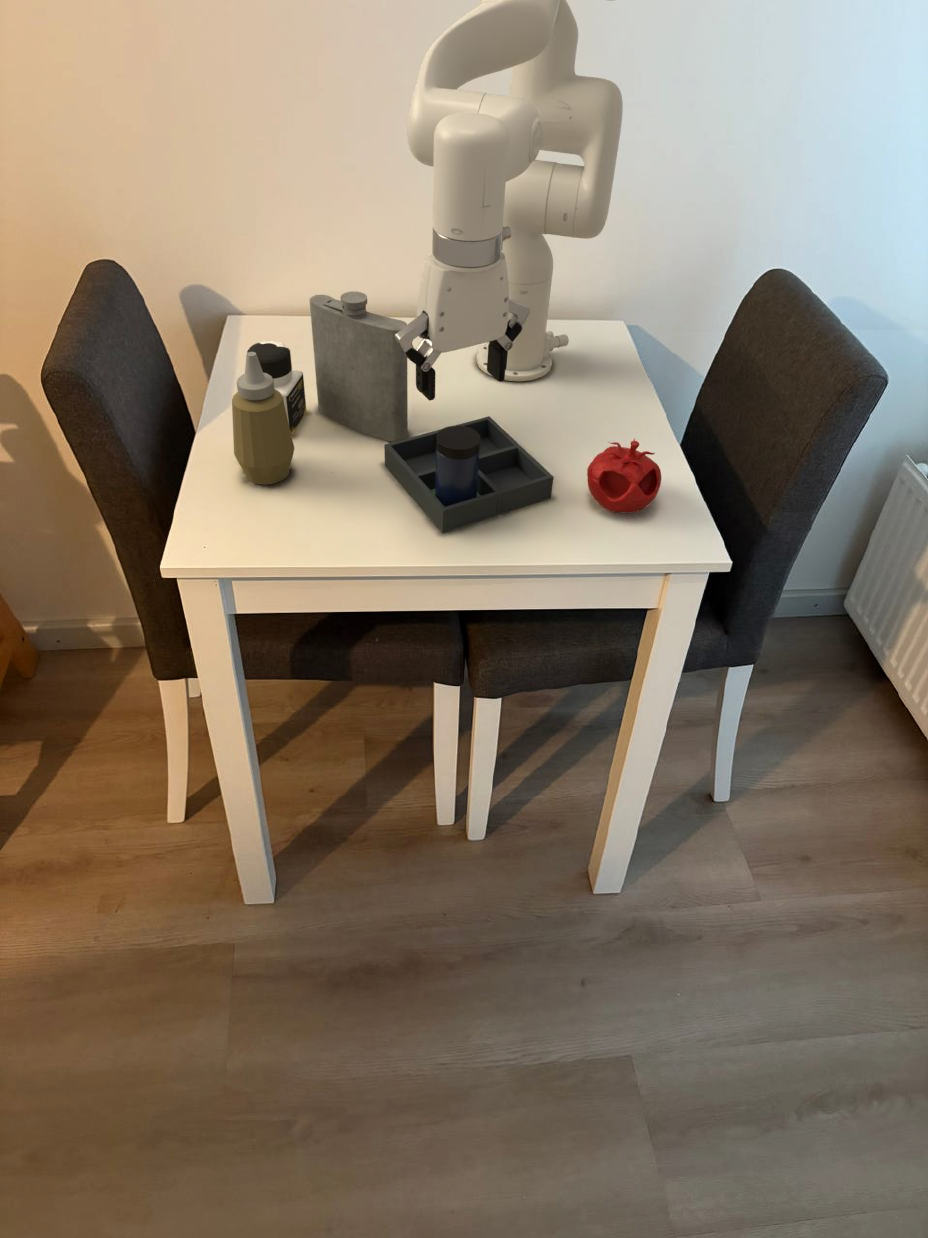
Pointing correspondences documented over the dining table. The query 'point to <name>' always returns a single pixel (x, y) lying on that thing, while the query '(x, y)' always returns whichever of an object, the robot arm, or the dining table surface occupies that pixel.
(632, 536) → the dining table surface
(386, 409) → the hip flask
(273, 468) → the squeeze bottle
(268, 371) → the medicine bottle
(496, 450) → the tray
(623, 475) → the red hollow tomato
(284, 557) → the dining table surface
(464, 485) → the thermos
